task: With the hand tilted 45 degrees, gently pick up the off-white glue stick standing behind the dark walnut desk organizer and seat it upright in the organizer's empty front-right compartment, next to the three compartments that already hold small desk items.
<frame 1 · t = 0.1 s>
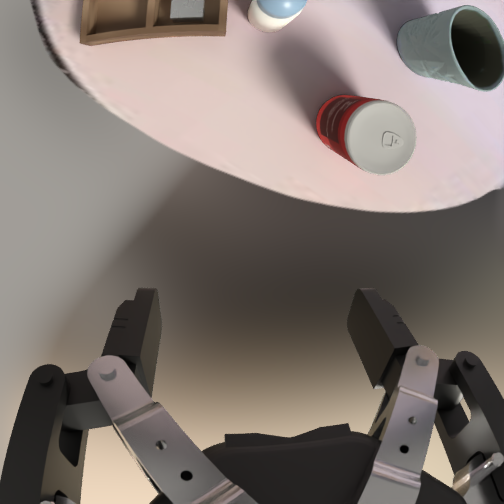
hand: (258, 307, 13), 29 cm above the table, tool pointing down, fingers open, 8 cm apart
glue stick: (268, 14, 30), on the table
green cup: (422, 49, 32), on the table
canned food: (343, 123, 37), on the table
grey rectangular block: (189, 3, 28), point 1 cm above the table, touching organizer
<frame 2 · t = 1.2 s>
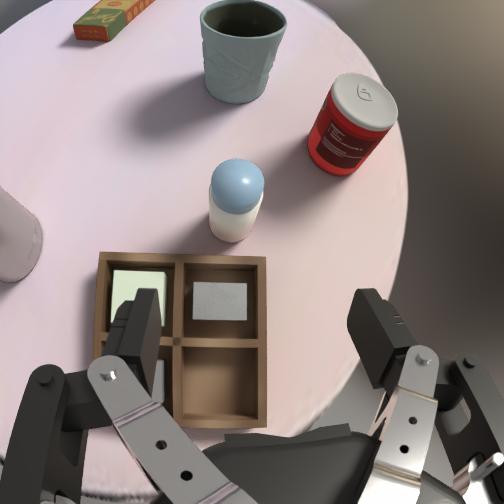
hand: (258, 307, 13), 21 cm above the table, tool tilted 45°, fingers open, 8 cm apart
carton: (117, 18, 44), on the table
organizer: (180, 341, 31), on the table
glue stick: (231, 221, 35), on the table
eraser: (142, 377, 29), point 1 cm above the table, touching organizer
green cup: (235, 82, 41), on the table
note block: (143, 301, 31), point 1 cm above the table, touching organizer
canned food: (333, 152, 40), on the table
grey rectangular block: (219, 304, 32), point 1 cm above the table, touching organizer
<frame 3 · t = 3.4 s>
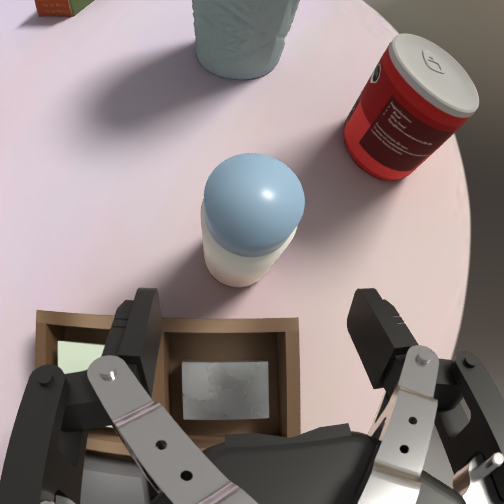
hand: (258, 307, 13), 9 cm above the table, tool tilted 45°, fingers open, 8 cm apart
organizer: (168, 436, 19), on the table
glue stick: (238, 253, 23), on the table
eraser: (118, 481, 17), point 1 cm above the table, touching organizer
green cup: (238, 53, 29), on the table
note block: (109, 380, 19), point 1 cm above the table, touching organizer
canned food: (377, 147, 27), on the table
grey rectangular block: (224, 385, 20), point 1 cm above the table, touching organizer
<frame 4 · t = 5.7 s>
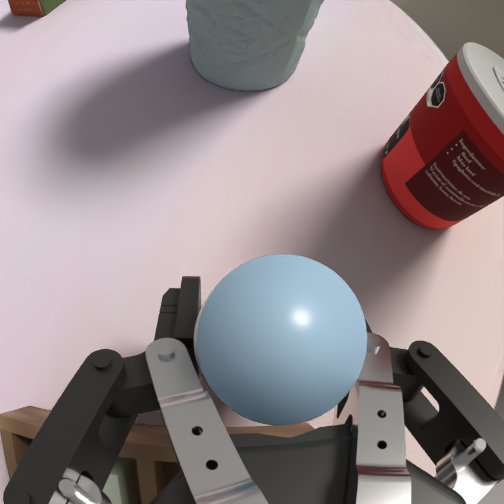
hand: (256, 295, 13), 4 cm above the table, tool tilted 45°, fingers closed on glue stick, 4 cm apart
glue stick: (247, 340, 17), on the table, touching gripper
green cup: (244, 56, 23), on the table
note block: (95, 486, 13), point 1 cm above the table, touching organizer
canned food: (419, 183, 21), on the table
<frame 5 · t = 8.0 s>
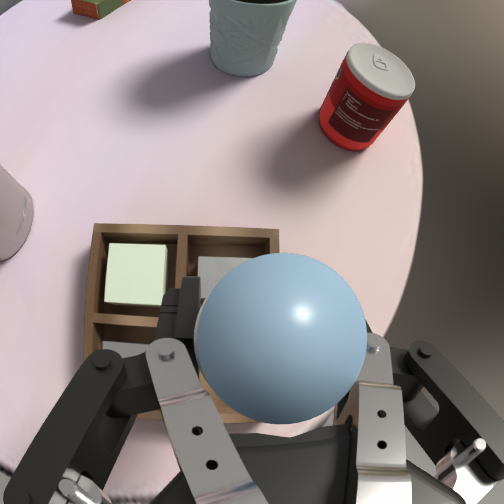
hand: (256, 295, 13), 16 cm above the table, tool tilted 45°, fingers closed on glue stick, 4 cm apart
organizer: (182, 324, 28), on the table
glue stick: (247, 340, 17), point 12 cm above the table, touching gripper
eraser: (138, 365, 26), point 1 cm above the table, touching organizer
green cup: (242, 56, 38), on the table
note block: (141, 279, 28), point 1 cm above the table, touching organizer
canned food: (345, 127, 37), on the table
grey rectangular block: (226, 282, 29), point 1 cm above the table, touching organizer
when the fingers open (7 cm above the table, at t = 10.5 s): glue stick drops 2 cm, resting on organizer.
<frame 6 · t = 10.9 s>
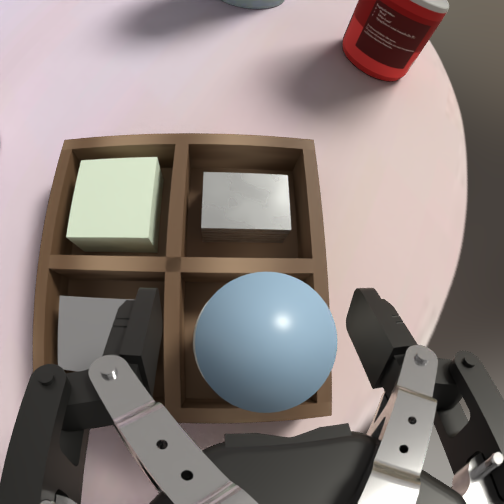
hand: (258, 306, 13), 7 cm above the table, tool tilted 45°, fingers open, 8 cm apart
organizer: (179, 277, 20), on the table
glue stick: (242, 342, 19), point 1 cm above the table, touching organizer
eraser: (115, 337, 18), point 1 cm above the table, touching organizer
note block: (123, 215, 20), point 1 cm above the table, touching organizer
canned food: (372, 59, 28), on the table
grey rectangular block: (242, 216, 21), point 1 cm above the table, touching organizer
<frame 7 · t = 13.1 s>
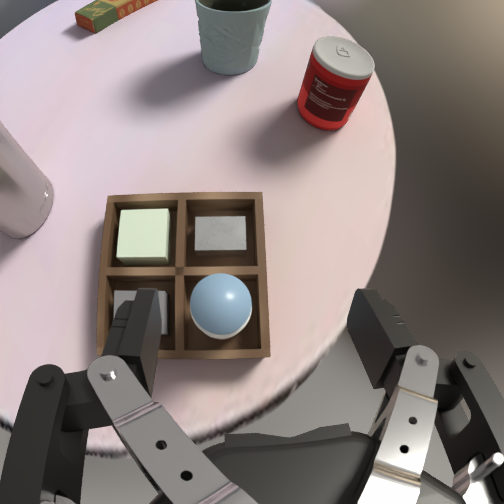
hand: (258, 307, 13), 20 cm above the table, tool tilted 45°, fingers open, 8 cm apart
carton: (118, 12, 48), on the table
organizer: (183, 278, 33), on the table
glue stick: (221, 316, 32), point 1 cm above the table, touching organizer
eraser: (145, 315, 31), point 1 cm above the table, touching organizer
green cup: (229, 58, 44), on the table
note block: (148, 242, 33), point 1 cm above the table, touching organizer
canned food: (322, 111, 42), on the table
grey rectangular block: (220, 241, 34), point 1 cm above the table, touching organizer
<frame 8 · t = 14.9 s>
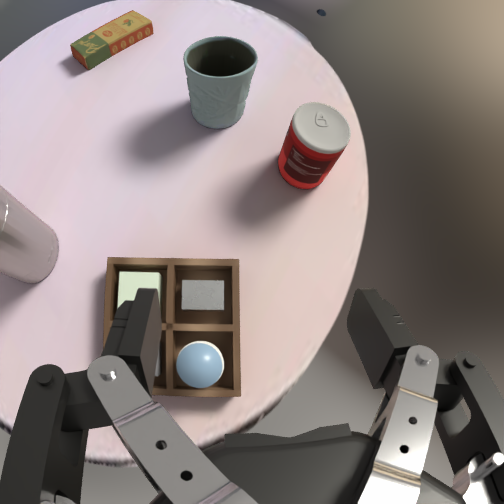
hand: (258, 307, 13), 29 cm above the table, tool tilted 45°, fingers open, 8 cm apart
carton: (113, 45, 52), on the table
organizer: (173, 328, 39), on the table
glue stick: (203, 360, 38), point 1 cm above the table, touching organizer
eraser: (142, 357, 37), point 1 cm above the table, touching organizer
green cup: (217, 108, 49), on the table
note block: (143, 296, 39), point 1 cm above the table, touching organizer
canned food: (301, 168, 48), on the table
grey rectangular block: (203, 297, 40), point 1 cm above the table, touching organizer
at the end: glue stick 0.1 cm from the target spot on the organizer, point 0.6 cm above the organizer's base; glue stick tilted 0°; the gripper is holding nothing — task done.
